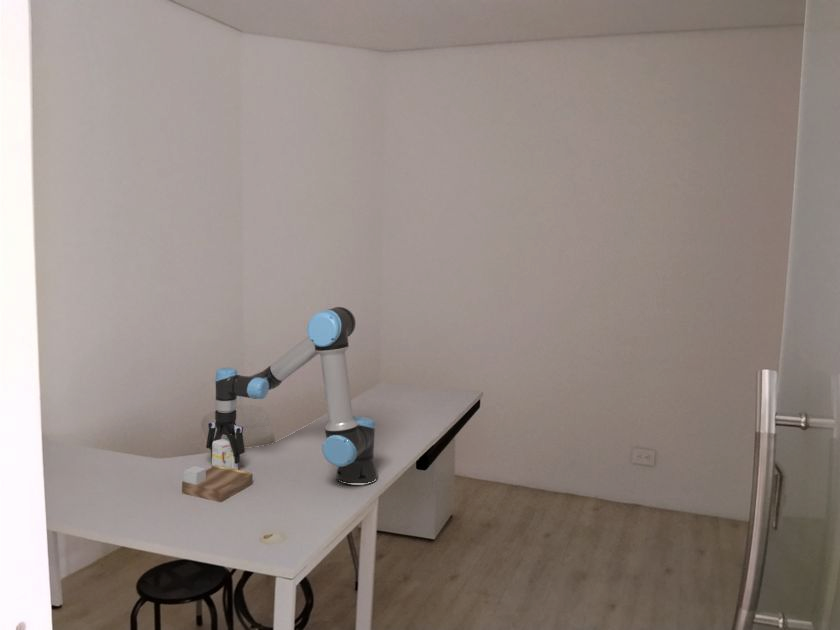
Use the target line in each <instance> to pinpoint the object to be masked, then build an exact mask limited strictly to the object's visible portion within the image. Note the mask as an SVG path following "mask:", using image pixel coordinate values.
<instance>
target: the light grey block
mask: <svg viewBox="0 0 840 630" xmlns="http://www.w3.org/2000/svg"><path fill="white" fill-rule="evenodd" d="M206 470H207V468H206V467H200V466H195V465H193V466H191V467H190V468H189V467H188V468H187V469H185V470H184V471H183V472H184V476H183V477H184V478H183V480H184V482H187V483H192V484H196V485H197V484H199V483H200V482H202V481H204V480H206Z"/></svg>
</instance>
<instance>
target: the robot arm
mask: <svg viewBox="0 0 840 630" xmlns="http://www.w3.org/2000/svg"><path fill="white" fill-rule="evenodd" d="M356 322H357V321H356V318H355V315H354V314H353V312H351V311H350V310H349V309H348V308H346V307H341V306H336V307H333V308H330V309H329V308H328V309H324V310H320V311H319V312H317V313H315V314H314V315H313V316H312V317H311V318H309V321H308V324H307V328H306V329H307V331H306V332H307V336H306V337H305V338H304V339H302V340H301V341H300V342H298V343H297V344H296V345H295V346H293V347H292V348H290V350H289V351H287V352H286V353H284V354H283V355H282V356H281V357H280V358H278V359H277V360H275V361H274V362H273V363H271V364H270V365H269V366H268V367H266V368H265V369H264V370H263V371H259V372H258V373H255V374H253V375H250V376H248V375H239V374H238V370H237V368H234V367H229V366H227V367H219V368H218V369H217V370H216V372H215V379H214V380H215V401H214V409H215V411H214V412H215V414H214V416H215V417H214V419H215V421H210V422H209V423H208V433H207V438H206V449H209V450H210V459H211V460H212V443H213V441H216V440H220V439H222V437H223V435H224V436H226V438H229V441H230V444H231V447H232V450H233V453H234V455H232V469H235V470H239V463H240V459H241V457H240V456H241V455H242V454H244V453H245V452H246V451H245V449H246V448H245V443H244V442H245V441H244V435H243V432H244V427H243V426H238V425H237V424H236V421H237V401H238V400H237V399H238V398H237V397H242V398H247V399H248V398H249V399H253V400H257V399H259V400H263V399H264V398H266V397H267V395H268V394H269V391H271V390H274V389H276V388H278V387H279V386H280V385H281V384H282V382H283V381H284V380H286V379H287V378H288V377H290V376H291V375H293V374H294V373H296V372H297V371H298V370H299V369H301V368H302V367H304V366H305V365H306V364H307V363H309V362H310V361H311V360H313V359H314V358H315V357H317V356H318V355H319V356H320V363H321V372H322V378H323V379H322V380H323V386H324V387H323V388H324V396H325V404H326V412H327V419H328V420H327V421H328V422H327V424H326V425H325V427H324V431H325V432H324V433H325V440H324V441H323V443H322V446H321V447H322V448H321V450H322V451H321V452H322V454H323V457H324V459H325V460H326V461H327V462H328V463H330V464H331V465H333V466H335V467H337V470H336V474H335V475H336V478H337V479H338V480H340V481H342V482H346V483H368V482H372V481H374V480H375V479H376V478H377V479H378V470H377V466H376V464H375V460H374V452H375V451H374V450H375V435H376V434H375V433H376V432H375V430H376V427H375V424H376V423H375V421H374V420H373V419H372V418H369V417H365V416H353V415H354V414H353V408H352V400H351V399H352V398H351V390H350V383H349V382H350V381H349V376H348V373H349V372H348V366H347V365H348V364H347V357H346V351H347V350H348V348H349V347H350V345H349V337H350V336H351V335H352V334H353V333H354V331H355V330H356ZM337 479H336V480H337ZM338 480H337V481H338Z"/></svg>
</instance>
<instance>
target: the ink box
mask: <svg viewBox="0 0 840 630" xmlns="http://www.w3.org/2000/svg"><path fill="white" fill-rule="evenodd" d="M232 455H234V453H233V450H232V447H231V444H230V441H229V438H227V437H225V438H221V439H220V440H216V441H213V443H212V459H211V468H212V467H213V466H215V465H216V466H221V467H226V468H231V469H232Z"/></svg>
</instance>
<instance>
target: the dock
mask: <svg viewBox="0 0 840 630" xmlns="http://www.w3.org/2000/svg"><path fill="white" fill-rule="evenodd" d="M253 478H254V476H253V472H249V471H244V470H239V469H238V470H235V469H231V468H226V467H221V466H216V465H215V466H213V467H212V466H211V467H210V468H207V469H206V480H204V481H202V482H200V483H199V484H197V485H196V484H192V483H187V482H184V481H182V482H181V494H183V495H187V496H188V495H189V496H193V497H197V498H202V499H204V500H210V501H213V502H214V501H215V502H217V503H222V502H224V501H227V500H228V499H230V498H231V497H233V496H234V495H236V494H238V493H240V492H241V491H244V490H245V489H247V488H249V487H250V486H252V485H253Z"/></svg>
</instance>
